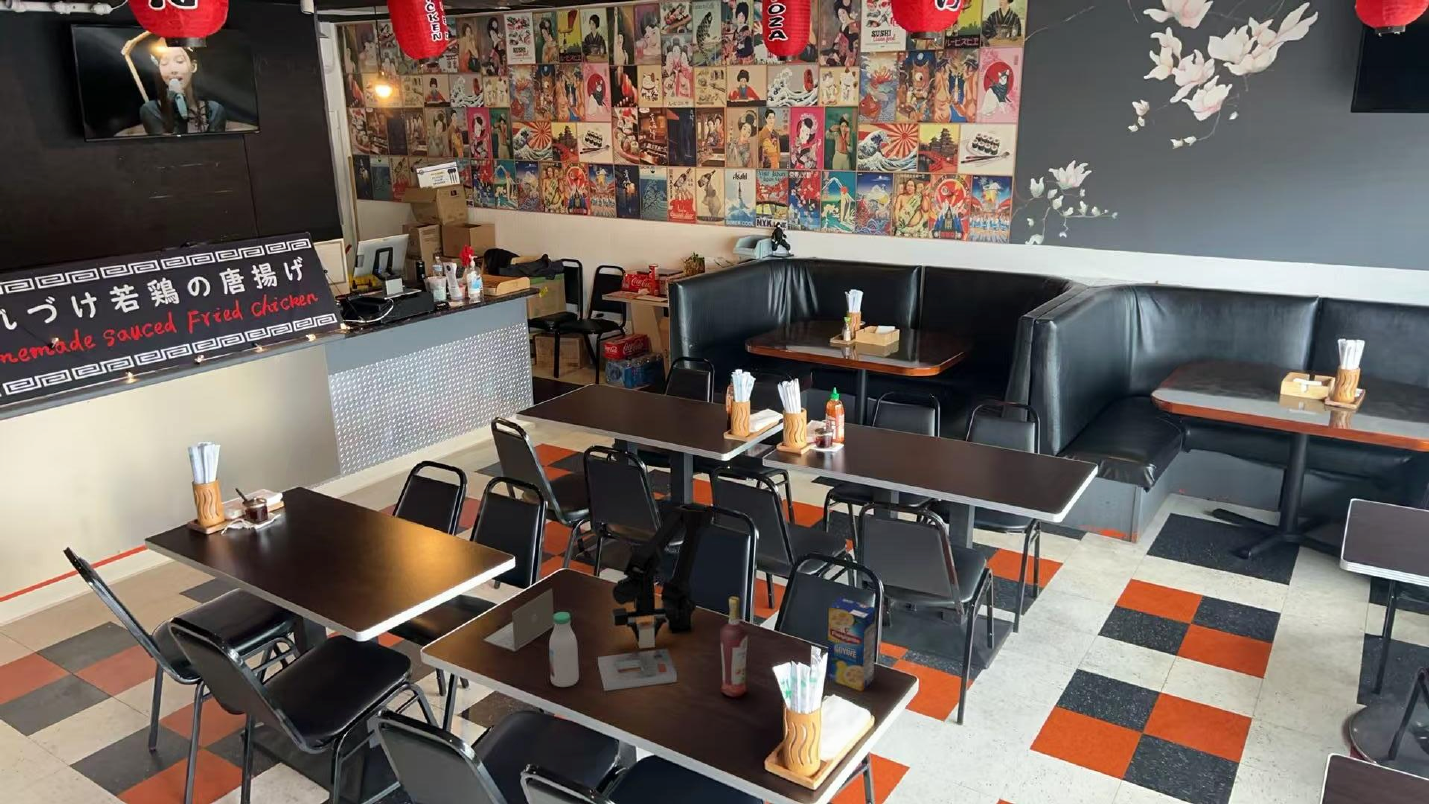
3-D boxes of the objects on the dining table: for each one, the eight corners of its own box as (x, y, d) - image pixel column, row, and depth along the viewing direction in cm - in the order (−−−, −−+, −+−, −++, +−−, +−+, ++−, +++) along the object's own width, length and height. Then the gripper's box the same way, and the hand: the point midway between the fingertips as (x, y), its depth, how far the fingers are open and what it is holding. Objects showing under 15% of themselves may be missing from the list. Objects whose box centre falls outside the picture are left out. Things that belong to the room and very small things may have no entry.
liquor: (738, 703, 270) (738, 607, 262) (715, 695, 273) (714, 600, 266) (752, 690, 276) (753, 596, 268) (729, 682, 279) (729, 590, 272)
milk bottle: (583, 675, 283) (580, 611, 278) (571, 690, 276) (567, 623, 271) (558, 671, 286) (555, 606, 280) (545, 685, 278) (542, 619, 273)
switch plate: (667, 656, 293) (667, 646, 292) (676, 681, 280) (676, 671, 279) (598, 665, 289) (597, 654, 288) (604, 691, 275) (604, 680, 275)
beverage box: (862, 691, 275) (865, 618, 269) (826, 678, 281) (828, 606, 275) (873, 680, 280) (876, 608, 274) (838, 668, 287) (841, 597, 281)
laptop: (523, 617, 317) (521, 579, 313) (554, 627, 311) (552, 588, 307) (483, 642, 302) (480, 602, 299) (515, 652, 296) (512, 612, 292)
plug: (652, 639, 301) (651, 619, 299) (654, 646, 297) (654, 626, 295) (637, 641, 300) (636, 621, 298) (639, 648, 296) (639, 628, 294)
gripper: (671, 576, 303) (671, 623, 307) (609, 583, 299) (610, 630, 303) (678, 593, 293) (679, 641, 297) (614, 600, 289) (615, 649, 293)
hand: (645, 640), depth 298 cm, fingers closed on plug, 4 cm apart
